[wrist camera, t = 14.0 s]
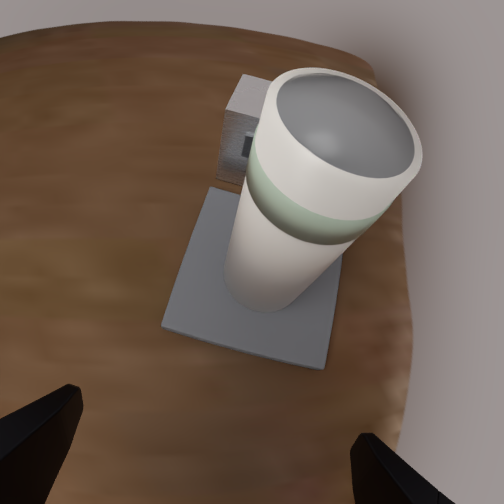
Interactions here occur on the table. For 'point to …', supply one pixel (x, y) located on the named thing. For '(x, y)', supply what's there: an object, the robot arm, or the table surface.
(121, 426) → the table surface
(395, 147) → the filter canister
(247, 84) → the block
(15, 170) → the table surface
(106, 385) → the table surface
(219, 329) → the dock mat
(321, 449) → the table surface
